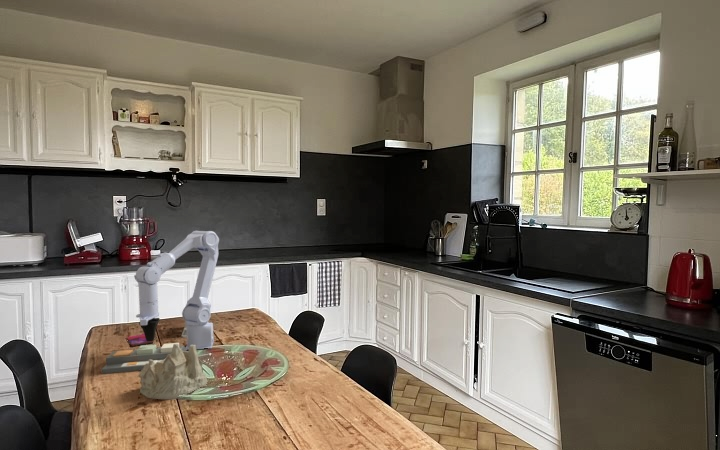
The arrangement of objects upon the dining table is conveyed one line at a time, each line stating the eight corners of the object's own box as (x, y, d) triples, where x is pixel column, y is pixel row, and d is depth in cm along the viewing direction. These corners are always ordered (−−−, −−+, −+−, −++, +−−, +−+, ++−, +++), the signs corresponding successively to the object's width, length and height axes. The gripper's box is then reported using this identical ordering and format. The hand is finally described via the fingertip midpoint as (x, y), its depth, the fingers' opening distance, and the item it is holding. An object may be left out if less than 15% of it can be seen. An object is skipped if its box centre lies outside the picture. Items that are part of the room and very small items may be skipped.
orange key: (133, 355, 152) (133, 349, 152) (128, 360, 147) (128, 354, 147) (117, 356, 151) (117, 351, 151) (112, 361, 146) (112, 355, 146)
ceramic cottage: (215, 382, 132) (210, 333, 131) (167, 406, 118) (161, 351, 117) (181, 375, 140) (176, 329, 139) (132, 397, 126) (126, 346, 125)
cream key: (179, 348, 155) (179, 342, 155) (176, 352, 150) (176, 347, 150) (164, 349, 154) (163, 343, 154) (160, 354, 149) (160, 348, 149)
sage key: (156, 350, 153) (156, 344, 153) (152, 354, 148) (152, 348, 148) (141, 351, 152) (140, 345, 152) (136, 356, 147) (136, 350, 147)
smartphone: (146, 333, 183) (153, 342, 171) (146, 335, 183) (153, 344, 171) (125, 337, 179) (131, 346, 166) (125, 339, 179) (131, 348, 166)
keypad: (186, 351, 161) (186, 341, 160) (178, 367, 145) (177, 356, 145) (118, 357, 156) (117, 347, 156) (101, 373, 140) (101, 362, 140)
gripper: (142, 297, 156) (143, 335, 157) (129, 307, 142) (131, 348, 143) (163, 296, 157) (164, 333, 158) (152, 305, 143) (154, 346, 144)
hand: (150, 340), depth 150 cm, fingers closed
